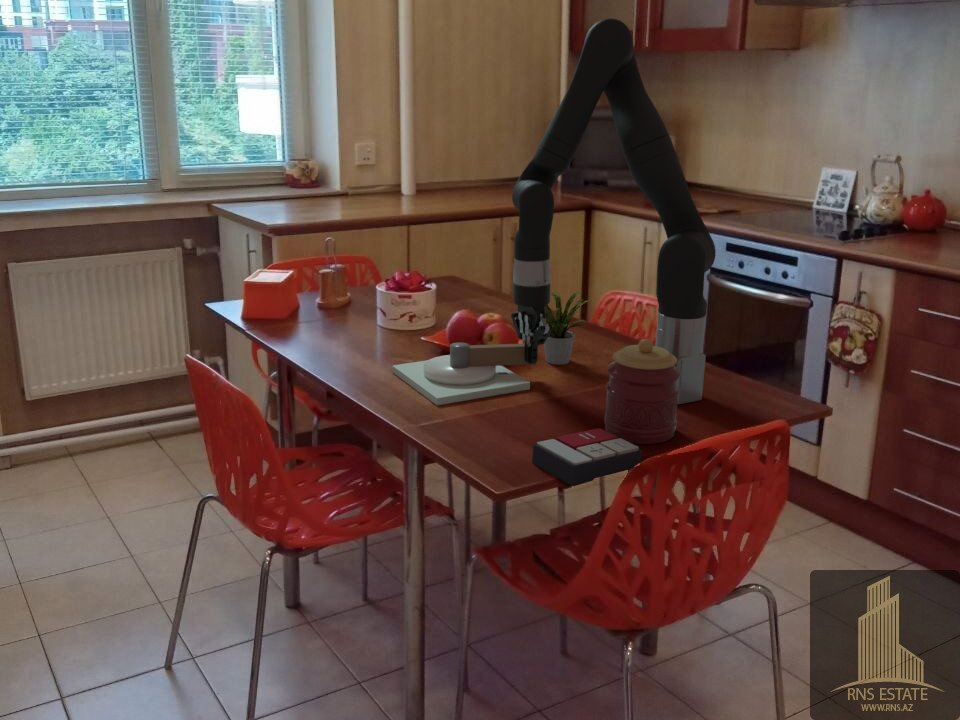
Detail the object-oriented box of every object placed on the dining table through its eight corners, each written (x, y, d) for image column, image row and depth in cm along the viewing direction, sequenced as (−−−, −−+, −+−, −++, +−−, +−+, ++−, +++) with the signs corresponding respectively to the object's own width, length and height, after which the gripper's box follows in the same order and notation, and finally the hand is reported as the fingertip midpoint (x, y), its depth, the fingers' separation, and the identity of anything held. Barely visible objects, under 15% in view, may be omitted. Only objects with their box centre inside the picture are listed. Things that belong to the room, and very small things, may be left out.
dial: (427, 386, 188) (427, 357, 186) (420, 362, 202) (419, 336, 200) (542, 381, 192) (543, 353, 190) (527, 358, 206) (528, 332, 204)
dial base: (529, 389, 192) (530, 381, 192) (436, 405, 183) (436, 397, 182) (479, 359, 210) (479, 351, 210) (392, 372, 201) (392, 364, 200)
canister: (659, 416, 179) (666, 327, 173) (687, 443, 167) (696, 348, 161) (594, 420, 176) (599, 330, 171) (618, 448, 164) (624, 351, 159)
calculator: (644, 446, 157) (575, 462, 148) (641, 470, 158) (572, 487, 150) (600, 425, 165) (532, 439, 157) (597, 448, 166) (530, 463, 158)
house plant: (594, 352, 216) (598, 283, 211) (595, 371, 203) (600, 298, 198) (532, 349, 218) (535, 280, 213) (529, 368, 205) (532, 295, 199)
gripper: (565, 284, 185) (563, 368, 190) (530, 271, 196) (529, 351, 202) (533, 289, 182) (532, 374, 187) (499, 276, 193) (499, 356, 198)
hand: (530, 362), depth 194 cm, fingers closed
